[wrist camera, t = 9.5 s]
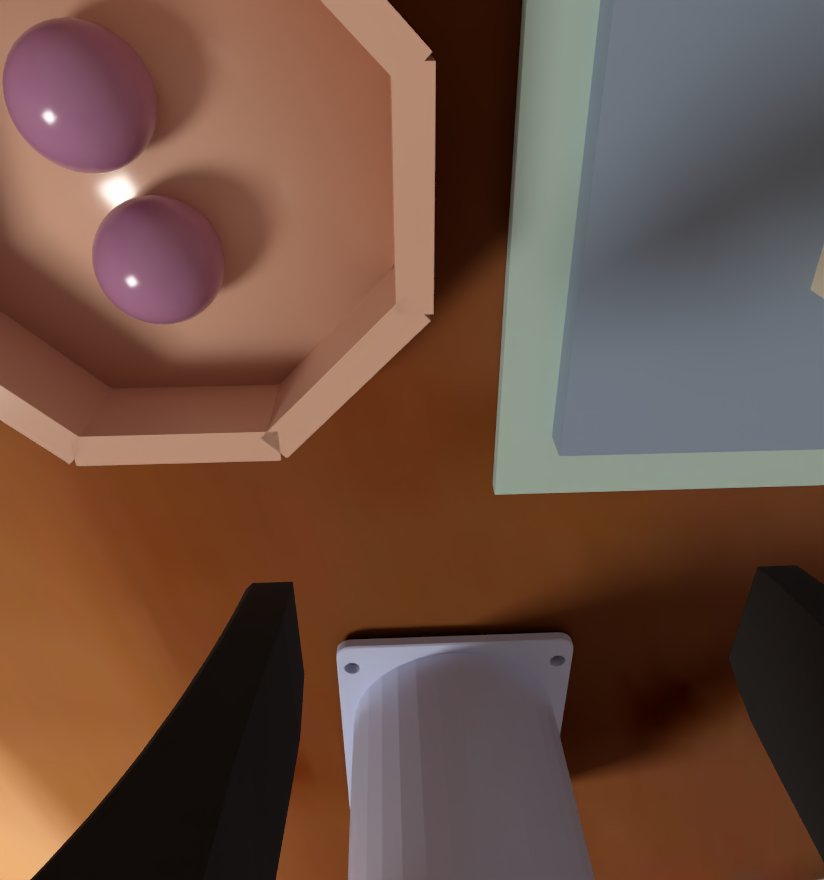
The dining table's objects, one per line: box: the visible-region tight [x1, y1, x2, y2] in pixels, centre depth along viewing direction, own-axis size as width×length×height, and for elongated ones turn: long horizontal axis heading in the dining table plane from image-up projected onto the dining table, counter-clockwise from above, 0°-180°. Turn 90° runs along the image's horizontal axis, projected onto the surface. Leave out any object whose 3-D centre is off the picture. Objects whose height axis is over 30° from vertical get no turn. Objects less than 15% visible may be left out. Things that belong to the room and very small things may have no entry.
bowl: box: [0, 0, 436, 466], centre depth 15 cm, size 12×12×3 cm
